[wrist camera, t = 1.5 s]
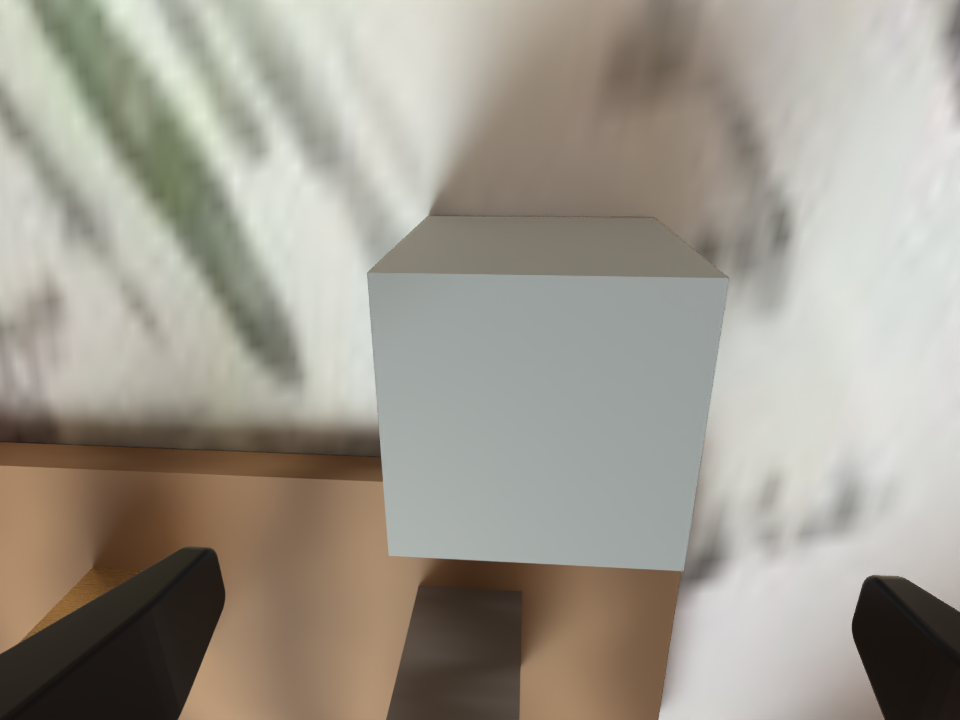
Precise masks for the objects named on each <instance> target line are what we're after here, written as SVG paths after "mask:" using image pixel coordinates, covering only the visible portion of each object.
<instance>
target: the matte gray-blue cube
mask: <svg viewBox="0 0 960 720" xmlns="http://www.w3.org/2000/svg"><path fill="white" fill-rule="evenodd" d="M367 278H368V291H369V304H370V317H371V330H372V343H373V356H374V370H375V383H376V396H377V409H378V422H379V435H380V448H381V461H382V474H383V487H384V500H385V513H386V527H387V540H388V553H389V556H402V557H421V558H440V559H460V560H479V561H498V562H517V563H536V564H556V565H575V566H594V567H613V568H632V569H652V570H671V571H684V566H685V559H686V553H687V547H688V540H689V534H690V527H691V521H692V514H693V508H694V502H695V495H696V489H697V482H698V476H699V469H700V463H701V457H702V450H703V444H704V437H705V431H706V424H707V418H708V412H709V405H710V399H711V392H712V386H713V379H714V373H715V367H716V360H717V354H718V347H719V341H720V335H721V328H722V322H723V315H724V309H725V302H726V296H727V290H728V283H729V278H728V277H727V276H726V275H725V274H723V273H722V272H721V271H720V270H719V269H717V268H716V267H715V266H714V265H712V264H711V263H710V262H709V261H707V260H706V259H705V258H704V257H702V256H701V255H700V254H699V253H697V252H696V251H695V250H694V249H693V248H691V247H690V246H689V245H688V244H686V243H685V242H684V241H683V240H681V239H680V238H679V237H678V236H676V235H675V234H674V233H673V232H671V231H670V230H669V229H668V228H666V227H665V226H664V225H663V224H662V223H660V222H659V221H658V220H657V219H655V218H650V217H524V216H427V217H426V218H425V219H424V220H423V221H422V222H421V223H420V224H419V225H418V226H417V227H415V228H414V229H413V230H412V231H411V232H410V233H409V234H408V235H407V236H406V237H405V238H404V239H403V240H402V241H400V242H399V243H398V244H397V245H396V246H395V247H394V248H393V249H392V250H391V251H390V252H389V253H388V254H387V255H385V256H384V257H383V258H382V259H381V260H380V261H379V262H378V263H377V264H376V265H375V266H374V267H373V268H371V269H370V270H369V271H368V272H367Z"/></svg>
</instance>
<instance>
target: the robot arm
mask: <svg viewBox="0 0 960 720" xmlns="http://www.w3.org/2000/svg"><path fill="white" fill-rule="evenodd" d="M224 604H225V587H224V582H223V578H222V573H221V569H220V564H219V560H218V556H217V553H216V552H215V550H214V549H213V548H210V547H197V546H187V547H183V548H181V549H179V550H177V551H176V552H174V553H172V554H171V555H169V556H167V557H165V558H164V559H162V560H160V561H159V562H157V563H155V564H153V565H152V566H150V567H148V568H147V569H145V570H143V571H141V572H140V573H138V574H136V575H135V576H133V577H131V578H129V579H128V580H126V581H124V582H123V583H121V584H119V585H118V586H116V587H114V588H112V589H111V590H109V591H107V592H106V593H104V594H102V595H100V596H99V597H97V598H95V599H94V600H92V601H90V602H88V603H87V604H85V605H83V606H82V607H80V608H78V609H76V610H75V611H73V612H71V613H70V614H68V615H66V616H64V617H63V618H61V619H59V620H58V621H56V622H54V623H52V624H51V625H49V626H47V627H46V628H44V629H42V630H40V631H39V632H37V633H35V634H34V635H32V636H30V637H29V638H27V639H25V640H23V641H22V642H20V643H18V644H17V645H15V646H13V647H11V648H10V649H8V650H6V651H5V652H3V653H1V654H0V720H178V719H179V717H180V715H181V713H182V710H183V708H184V706H185V703H186V701H187V699H188V696H189V694H190V691H191V689H192V686H193V684H194V681H195V679H196V676H197V674H198V671H199V669H200V666H201V664H202V661H203V659H204V656H205V654H206V651H207V648H208V646H209V643H210V641H211V638H212V636H213V633H214V631H215V628H216V626H217V623H218V621H219V618H220V616H221V613H222V611H223V608H224ZM852 634H853V639H854V642H855V645H856V647H857V650H858V652H859V655H860V657H861V660H862V663H863V665H864V668H865V670H866V673H867V675H868V678H869V681H870V683H871V686H872V688H873V691H874V694H875V696H876V699H877V701H878V704H879V706H880V709H881V712H882V714H883V717H884V719H885V720H960V612H959V611H957V610H956V609H954V608H952V607H951V606H949V605H948V604H946V603H944V602H943V601H941V600H940V599H938V598H936V597H935V596H933V595H931V594H930V593H928V592H927V591H925V590H923V589H922V588H920V587H919V586H917V585H915V584H914V583H912V582H910V581H909V580H907V579H905V578H903V577H899V576H880V575H872V576H869V577H867V578H866V579H865V581H864V583H863V585H862V589H861V592H860V596H859V599H858V602H857V606H856V609H855V613H854V616H853V620H852Z"/></svg>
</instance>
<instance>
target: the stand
mask: <svg viewBox="0 0 960 720" xmlns="http://www.w3.org/2000/svg"><path fill="white" fill-rule="evenodd" d="M187 546H197V547H210V548H213V549H214V550H215V552H216V553H217V556H218V560H219V564H220V569H221V573H222V578H223V582H224V587H225V604H224V608H223V611H222V613H221V616H220V618H219V621H218V623H217V626H216V628H215V631H214V633H213V636H212V638H211V641H210V643H209V646H208V648H207V651H206V654H205V656H204V659H203V661H202V664H201V666H200V669H199V671H198V674H197V676H196V679H195V681H194V684H193V686H192V689H191V691H190V694H189V696H188V699H187V701H186V703H185V706H184V708H183V710H182V713H181V715H180V717H179V719H178V720H658V718H659V712H660V705H661V699H662V692H663V686H664V679H665V672H666V666H667V659H668V653H669V646H670V640H671V633H672V627H673V620H674V614H675V607H676V601H677V594H678V588H679V581H680V575H681V571H671V570H652V569H632V568H613V567H594V566H575V565H556V564H536V563H517V562H498V561H479V560H460V559H440V558H421V557H402V556H389V553H388V540H387V527H386V513H385V500H384V487H383V474H382V461H381V457H365V456H340V455H315V454H289V453H264V452H238V451H213V450H188V449H162V448H137V447H111V446H86V445H60V444H35V443H10V442H0V654H1V653H3V652H5V651H6V650H8V649H10V648H11V647H13V646H15V645H17V644H18V643H19V642H20V641H21V640H22V639H23V638H24V637H25V636H26V635H27V634H28V633H29V632H30V631H31V630H32V629H33V628H34V627H35V626H36V625H37V624H38V623H39V622H40V621H41V620H42V619H43V618H44V617H45V616H46V614H47V613H48V612H49V611H50V610H51V609H52V608H53V607H54V606H55V605H56V604H57V603H58V602H59V601H60V600H61V599H62V598H63V597H64V596H65V595H66V594H67V593H68V592H69V591H70V590H71V589H72V588H73V587H74V586H75V585H76V584H77V583H78V582H79V581H80V580H81V579H82V578H83V577H84V576H85V575H86V574H87V573H88V572H89V571H90V570H91V569H92V568H93V567H94V568H112V569H130V570H145V569H147V568H148V567H150V566H152V565H153V564H155V563H157V562H159V561H160V560H162V559H164V558H165V557H167V556H169V555H171V554H172V553H174V552H176V551H177V550H179V549H181V548H183V547H187Z"/></svg>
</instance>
